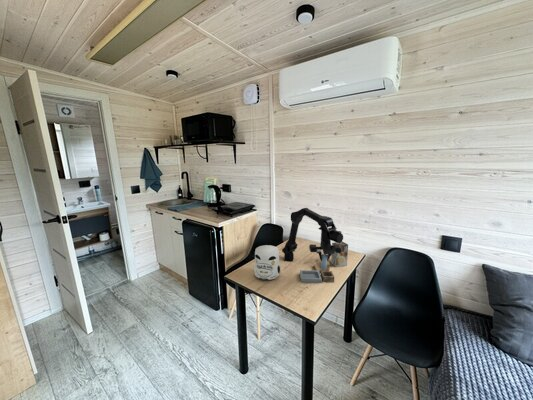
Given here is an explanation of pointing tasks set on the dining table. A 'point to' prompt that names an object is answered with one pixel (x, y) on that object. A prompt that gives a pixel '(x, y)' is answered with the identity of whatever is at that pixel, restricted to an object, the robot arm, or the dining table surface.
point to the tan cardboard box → (318, 267)
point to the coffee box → (340, 255)
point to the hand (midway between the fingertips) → (324, 261)
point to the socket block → (327, 276)
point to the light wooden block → (328, 266)
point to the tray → (310, 276)
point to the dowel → (324, 262)
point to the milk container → (267, 262)
